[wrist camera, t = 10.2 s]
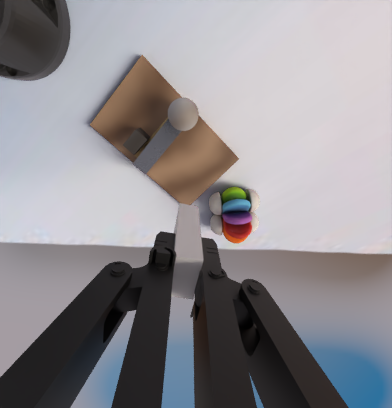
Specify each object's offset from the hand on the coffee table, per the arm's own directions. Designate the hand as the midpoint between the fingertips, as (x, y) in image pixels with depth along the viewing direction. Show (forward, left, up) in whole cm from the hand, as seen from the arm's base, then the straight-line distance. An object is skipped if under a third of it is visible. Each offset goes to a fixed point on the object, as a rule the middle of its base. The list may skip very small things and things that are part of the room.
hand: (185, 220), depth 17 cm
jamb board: (-5, 0, -20) cm, 21 cm away
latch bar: (-5, -1, -19) cm, 20 cm away
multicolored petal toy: (+12, 0, -21) cm, 24 cm away
